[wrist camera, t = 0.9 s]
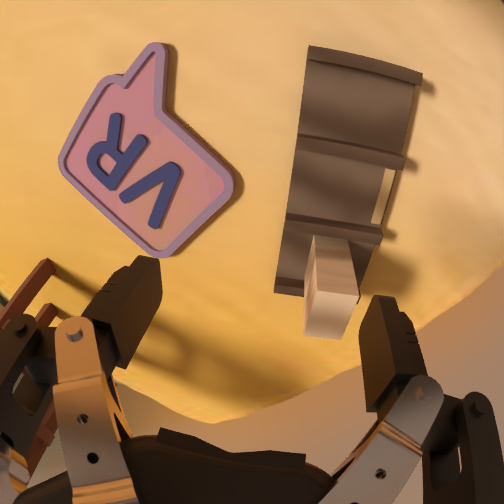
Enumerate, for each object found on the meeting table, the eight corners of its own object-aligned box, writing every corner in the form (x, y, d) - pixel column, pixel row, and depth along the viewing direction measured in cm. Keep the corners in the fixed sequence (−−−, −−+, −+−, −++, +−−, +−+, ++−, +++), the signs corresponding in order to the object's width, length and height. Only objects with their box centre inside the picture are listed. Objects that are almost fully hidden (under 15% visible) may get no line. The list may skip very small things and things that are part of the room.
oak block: (314, 233, 31) (317, 290, 24) (348, 239, 31) (361, 296, 24) (304, 275, 35) (303, 335, 27) (336, 280, 34) (342, 340, 27)
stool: (-82, 408, 16) (-65, 447, 10) (20, 269, 45) (77, 246, 39) (5, 479, 25) (65, 525, 19) (76, 343, 54) (143, 340, 48)
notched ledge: (307, 47, 22) (309, 45, 20) (412, 72, 21) (422, 73, 19) (275, 278, 37) (273, 292, 35) (355, 290, 36) (357, 304, 34)
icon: (281, 152, 27) (161, 264, 37) (281, 148, 28) (165, 257, 38) (138, 27, 21) (53, 166, 31) (145, 28, 22) (60, 162, 32)
